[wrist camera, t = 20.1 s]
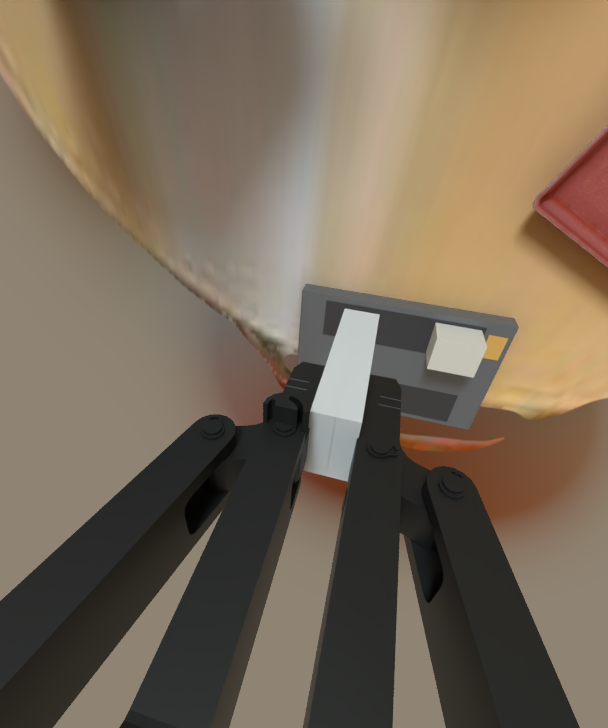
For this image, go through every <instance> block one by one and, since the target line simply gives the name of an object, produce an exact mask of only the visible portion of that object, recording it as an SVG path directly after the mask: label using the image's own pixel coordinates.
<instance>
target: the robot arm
mask: <svg viewBox="0 0 608 728" xmlns="http://www.w3.org/2000/svg"><path fill="white" fill-rule="evenodd" d="M379 316H380V314H374V313H368V312H363V311H357V310H351V309H344V312H343V315H342V318H341V321H340V324H339V327H338V330H337V333H336V336H335V339H334V342H333V345H332V348H331V351H330V354H329V357H328V360H327V363H326V366H323V365H318V364H313V363H308V362H301V363H300V364H299V365H297V366H296V367H295V368H294V369H293V371H292V374H291V376H290V379H289V380H288V382H287V385H286V387H285V389H284V391H283V393H278V394H274V395H272V396H270V397H268V398H267V399H266V401H265V402H264V403H263V410H264V411H263V423H260V424H257V425H250V426H235V424H234V422H233V421H232V420H231V419H230V418H228V417H227V416H223V415H208V416H205V417H202V418H201V419H199V420H198V421H196V422H195V423H194V424H193V425H192V426H191V427H190V428H188V429H187V430H186V431H185V432H184V433H183V434H182V435H181V436H180V437H178V438H177V439H176V440H175V441H174V442H173V443H172V444H171V445H170V446H169V447H168V448H167V449H165V450H164V451H163V452H162V453H161V454H160V455H159V456H158V457H157V458H156V459H155V460H153V462H151V463H150V464H149V465H148V466H147V467H146V468H145V469H144V470H143V471H141V472H140V473H139V474H138V475H137V476H136V477H135V478H134V479H133V480H132V481H131V482H129V483H128V484H127V485H126V486H125V487H124V488H123V489H122V490H121V491H120V492H119V493H118V494H117V495H115V496H114V497H113V498H112V499H111V500H110V501H109V502H108V503H107V504H106V505H104V506H103V507H102V508H101V509H100V510H99V511H98V512H97V513H96V514H95V515H94V516H93V517H91V518H90V519H89V520H88V521H87V522H86V523H85V524H84V525H83V526H82V527H81V528H79V529H78V530H77V531H76V532H75V533H74V534H73V535H72V536H71V537H70V538H69V539H67V540H66V541H65V542H64V543H63V544H62V545H61V546H60V547H59V548H58V549H57V550H55V552H53V553H52V554H51V555H50V556H49V557H48V558H47V559H46V560H45V561H44V562H43V563H41V564H40V565H39V566H38V567H37V568H36V569H35V570H34V571H33V572H32V573H30V574H29V575H28V576H27V577H26V578H25V579H24V580H23V581H22V582H21V583H20V584H18V586H16V587H15V588H14V589H13V590H12V591H11V592H10V593H9V594H8V595H7V596H5V597H4V598H3V599H2V600H1V601H0V728H53V727H54V725H55V724H56V723H57V721H58V720H59V719H60V718H61V716H62V715H63V714H64V712H65V711H66V710H67V708H68V707H69V706H70V705H71V703H72V702H73V701H74V700H75V698H76V697H77V696H78V694H79V693H80V692H81V691H82V689H83V688H84V687H85V685H86V684H87V683H88V682H89V680H90V679H91V678H92V676H93V675H94V674H95V672H96V671H97V670H98V668H100V666H101V665H102V664H103V662H104V661H105V660H106V659H107V657H108V656H109V655H110V653H111V652H112V651H113V649H114V648H115V647H116V645H117V644H118V643H119V642H120V641H121V639H122V638H123V637H124V635H125V634H126V633H127V632H128V630H129V629H130V628H131V626H132V625H133V624H134V622H135V621H136V620H137V619H138V618H139V616H140V615H141V614H142V612H143V611H144V610H145V609H146V607H147V606H148V604H149V603H150V602H151V601H152V599H153V598H154V597H155V596H156V594H157V593H158V592H159V591H160V589H161V588H162V587H163V585H164V584H165V583H166V582H167V580H168V579H169V578H170V576H171V575H172V574H173V573H174V571H175V570H176V569H177V567H178V566H179V565H180V564H181V562H182V561H183V560H184V558H185V557H186V556H187V555H188V553H189V552H190V551H191V549H192V548H193V547H194V546H195V544H196V543H197V542H198V541H199V539H200V538H201V537H202V535H203V534H204V533H205V531H206V530H207V529H208V527H209V526H210V525H211V524H212V523H213V521H214V520H215V519H216V517H217V516H218V515H219V514H220V512H221V511H222V510H223V511H222V513H221V515H220V517H219V519H218V522H217V523H216V526H215V528H214V530H213V532H212V534H211V536H210V539H209V541H208V543H207V545H206V547H205V549H204V551H203V553H202V556H201V558H200V560H199V562H198V564H197V566H196V569H195V571H194V573H193V575H192V577H191V579H190V581H189V584H188V586H187V588H186V590H185V592H184V594H183V596H182V599H181V601H180V603H179V605H178V608H177V609H176V612H175V614H174V616H173V618H172V620H171V622H170V624H169V626H168V629H167V631H166V633H165V635H164V637H163V639H162V641H161V644H160V646H159V648H158V650H157V652H156V654H155V657H154V659H153V661H152V663H151V665H150V667H149V669H148V671H147V674H146V676H145V678H144V680H143V682H142V684H141V686H140V689H139V691H138V693H137V695H136V697H135V699H134V701H133V704H132V706H131V708H130V710H129V712H128V714H127V716H126V718H125V720H124V721H123V723H122V724H121V726H120V728H229V726H230V723H231V719H232V716H233V712H234V709H235V706H236V702H237V699H238V695H239V692H240V689H241V685H242V682H243V678H244V675H245V671H246V668H247V665H248V661H249V658H250V654H251V651H252V648H253V644H254V641H255V638H256V634H257V631H258V627H259V624H260V620H261V617H262V614H263V610H264V607H265V604H266V600H267V597H268V593H269V590H270V587H271V583H272V580H273V576H274V573H275V570H276V566H277V563H278V559H279V556H280V553H281V549H282V545H283V542H284V539H285V535H286V532H287V529H288V525H289V522H290V519H291V515H292V512H293V508H294V505H295V501H296V498H297V494H298V491H299V488H300V483H301V475H302V472H303V468H304V471H308V472H312V473H316V474H320V475H324V476H328V477H332V478H336V479H340V480H344V481H348V483H347V488H346V493H345V497H344V501H343V506H342V514H341V519H340V525H339V530H338V536H337V541H336V547H335V552H334V558H333V563H332V569H331V575H330V580H329V586H328V591H327V597H326V602H325V608H324V614H323V619H322V625H321V630H320V636H319V641H318V647H317V652H316V658H315V663H314V669H313V675H312V680H311V686H310V691H309V697H308V702H307V708H306V714H305V719H304V725H303V728H392V722H393V696H394V695H393V694H394V669H395V642H396V613H397V586H398V561H399V533H402V534H403V535H404V539H405V543H406V548H407V553H408V557H409V561H410V566H411V571H412V575H413V580H414V584H415V589H416V594H417V598H418V603H419V607H420V612H421V616H422V621H423V625H424V630H425V635H426V639H427V643H428V648H429V652H430V657H431V662H432V666H433V671H434V675H435V680H436V685H437V689H438V694H439V698H440V703H441V707H442V712H443V716H444V721H445V725H446V728H580V727H579V725H578V723H577V720H576V718H575V716H574V713H573V711H572V709H571V706H570V704H569V702H568V699H567V697H566V695H565V693H564V690H563V688H562V686H561V683H560V681H559V679H558V677H557V674H556V672H555V669H554V667H553V665H552V662H551V660H550V658H549V655H548V653H547V651H546V648H545V646H544V644H543V641H542V639H541V637H540V634H539V632H538V630H537V627H536V625H535V623H534V621H533V618H532V616H531V614H530V612H529V609H528V607H527V604H526V602H525V600H524V598H523V595H522V593H521V591H520V588H519V586H518V583H517V581H516V579H515V577H514V574H513V572H512V569H511V567H510V565H509V562H508V560H507V558H506V555H505V553H504V551H503V548H502V546H501V544H500V542H499V539H498V537H497V535H496V532H495V530H494V528H493V525H492V523H491V521H490V518H489V516H488V514H487V511H486V509H485V507H484V504H483V502H482V500H481V498H480V495H479V493H478V490H477V488H476V486H475V485H474V483H473V482H472V480H471V479H470V478H469V477H467V476H466V475H465V474H464V473H463V472H460V471H459V470H456V469H455V468H451V467H445V466H442V467H436V468H434V469H432V470H431V471H430V470H428V469H426V468H424V467H422V466H420V465H418V464H417V463H415V462H413V461H412V460H411V459H410V458H408V457H407V456H406V454H405V453H404V452H403V450H402V448H401V446H400V440H399V439H400V416H401V410H400V409H401V393H402V389H401V387H400V385H399V384H398V382H397V380H396V379H392V378H387V377H382V376H377V375H372V374H370V371H371V365H372V359H373V353H374V346H375V340H376V334H377V328H378V322H379Z"/></svg>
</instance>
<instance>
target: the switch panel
mask: <svg viewBox="0 0 608 728" xmlns="http://www.w3.org/2000/svg"><path fill="white" fill-rule="evenodd" d="M344 309H351V310H357V311H363V312H368V313H374V314H380V316H379V322H378V328H377V334H376V340H375V346H374V353H373V359H372V365H371V371H370V374H372V375H377V376H382V377H387V378H392V379H396V380H397V382H398V384H399V385H400V387H401V389H402V393H401V409H400V410H401V416H405V417H410V418H415V419H419V420H424V421H429V422H434V423H438V424H443V425H447V426H452V427H457V428H461V429H466V430H468V429H469V427H470V425H471V423H472V421H473V419H474V417H475V415H476V413H477V411H478V409H479V407H480V405H481V403H482V401H483V399H484V397H485V395H486V393H487V391H488V389H489V387H490V385H491V383H492V381H493V379H494V377H495V375H496V373H497V371H498V369H499V366H500V364H501V362H502V360H503V358H504V356H505V354H506V352H507V350H508V348H509V346H510V344H511V342H512V340H513V338H514V336H515V334H516V332H517V330H518V328H519V327H518V325H517V323H516V321H515V319H514V318H508V317H502V316H496V315H490V314H484V313H478V312H472V311H466V310H460V309H454V308H448V307H442V306H436V305H430V304H424V303H418V302H412V301H406V300H400V299H394V298H388V297H382V296H376V295H370V294H364V293H358V292H352V291H346V290H340V289H334V288H328V287H322V286H316V285H310V284H306V285H305V287H304V289H303V290H302V303H301V317H300V332H299V346H298V361H297V365H299V364H300V363H301V362H308V363H313V364H318V365H323V366H326V363H327V360H328V357H329V354H330V351H331V348H332V345H333V342H334V339H335V336H336V333H337V330H338V327H339V324H340V321H341V318H342V315H343V312H344ZM435 323H442V324H448V325H453V326H459V327H465V328H471V329H476V330H482V332H483V335H484V338H485V342H486V345H487V349H486V351H485V354H484V356H483V358H482V360H481V363H480V365H479V367H478V369H477V371H476V374H475V376H474V378H472V377H467V376H462V375H457V374H452V373H446V372H441V371H436V370H431V369H427V361H426V350H427V347H428V344H429V341H430V338H431V335H432V332H433V329H434V326H435Z"/></svg>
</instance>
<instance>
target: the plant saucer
mask: <svg viewBox="0 0 608 728" xmlns="http://www.w3.org/2000/svg"><path fill="white" fill-rule="evenodd" d="M533 207H534V209H535V210H536V211H537V212H538V213H539V214H540V215H542V216H543V217H544V218H546V219H547V220H548V221H549V222H551V223H552V224H553V225H554V226H555V227H557V228H558V229H559V230H561V231H562V232H563V233H564V234H566V235H567V236H568V237H570V238H571V239H572V240H573V241H575V242H576V243H577V244H578V245H579V246H580V247H582V248H583V249H584V250H586V251H587V252H589V253H590V254H591V255H592V256H593V257H595V258H596V259H597V260H598V261H600V262H601V263H602V264H604V265H605V266H606V267H607V268H608V125H607V126H606V127H605V128H604V129H603V130H602V131H601V132H600V134H599V135H598V136H597V137H596V138H595V139H594V140H592V141H591V142H590V143H589V144H588V145H587V146H586V147H585V148H584V150H583V151H582V152H581V153H580V154H579V155H578V156H577V157H576V158H575V159H574V160H573V161H572V162H571V163H570V164H569V165H568V166H567V167H566V168H565V169H564V170H563V171H562V172H561V173H560V174H559V175H558V176H557V177H556V178H555V179H554V180H553V181H552V182H551V183H550V184H549V185H548V186H547V187H546V188H545V189H544V190H543V191H542V192H541V193H540V194H539V195H538V196H537V197H536V199H535V201H534V203H533Z"/></svg>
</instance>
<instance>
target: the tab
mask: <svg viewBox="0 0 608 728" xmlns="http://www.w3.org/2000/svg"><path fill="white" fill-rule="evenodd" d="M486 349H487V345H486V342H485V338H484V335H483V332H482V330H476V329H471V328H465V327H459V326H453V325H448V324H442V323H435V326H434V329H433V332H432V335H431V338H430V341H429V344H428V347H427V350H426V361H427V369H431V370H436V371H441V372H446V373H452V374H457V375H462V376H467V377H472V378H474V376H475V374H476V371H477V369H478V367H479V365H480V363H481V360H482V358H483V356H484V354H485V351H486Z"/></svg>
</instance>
